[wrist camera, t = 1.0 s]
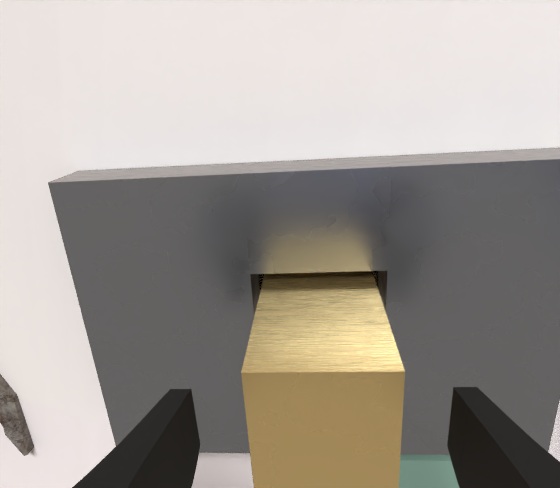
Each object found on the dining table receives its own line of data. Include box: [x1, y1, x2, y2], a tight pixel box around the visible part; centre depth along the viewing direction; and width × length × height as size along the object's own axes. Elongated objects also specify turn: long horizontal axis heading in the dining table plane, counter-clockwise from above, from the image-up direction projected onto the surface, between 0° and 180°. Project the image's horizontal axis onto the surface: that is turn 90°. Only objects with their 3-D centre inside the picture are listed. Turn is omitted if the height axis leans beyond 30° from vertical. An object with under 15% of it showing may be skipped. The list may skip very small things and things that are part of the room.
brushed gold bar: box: [241, 271, 405, 488], centre depth 14 cm, size 4×4×7 cm
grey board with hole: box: [48, 148, 560, 455], centre depth 17 cm, size 18×12×2 cm, turn 93°
